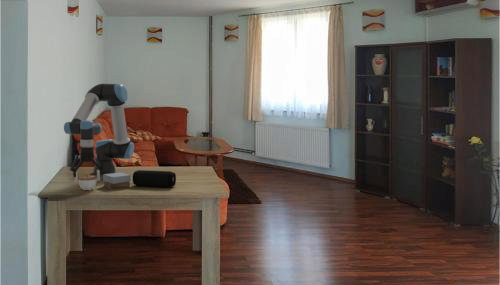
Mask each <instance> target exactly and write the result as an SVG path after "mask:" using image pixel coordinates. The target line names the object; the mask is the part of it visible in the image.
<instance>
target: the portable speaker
mask: <svg viewBox="0 0 500 285" xmlns="http://www.w3.org/2000/svg"><path fill="white" fill-rule="evenodd" d="M176 181H177V174H176V172H173V171H171V170H169V171H168V170H149V169H148V170H145V169H138V170H135V171H133V173H132V184H133V185H134V186H136V187H150V188H151V187H152V188H172V187H175V186H176Z"/></svg>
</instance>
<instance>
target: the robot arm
mask: <svg viewBox="0 0 500 285" xmlns="http://www.w3.org/2000/svg"><path fill="white" fill-rule="evenodd" d="M128 95H129V94H128V90H127V88H126V86H125V85H124V84H120V83H99V84H96V85H94V86H93V87H91V88H90V89H89V90H88V91H87V92H86V93H85V95H84V100H83V101H82V103H81V105H80V106H79V108H78V110H77V111H76V113H75V115H74V116H73V118H72V119H71V121H66V122H65V123H64V124H63V131H64V133H65V134H66V135H77V136H78V135H80V154H79V155H78V154H75V155H74V159H73V162H72V164H71V166H70V168H69V171H71V172H72V176H73V178H74V183H75V184H79V179H78V177H79V176H78V170H79V169H80V167H81V166H82V165H83V164H84V163H92V164H93V165H94V167H93V168H92V169H93V171H92V172H93V174H95V175H96V177H97V182H100V181H101V175H103V174H111V173H117V172H116V170H117V169H116V167H115V163H114V159H117V160H118V159H121V160H129V159H131V158H132V157H133V155H134V152H135V144H134V142H132V141H131V138H130V137H128V136H129V135H128V130H127V124H126V117H125V116H126V114H125V109H124V108H125V107H124V105H126V102H127V101H128ZM101 102H107V104H106V105H107V106H108V107H109V108H110V115H111V121H112V128H113V135H114V139H111V138H110V139H109V138H108V139H100V140H97V141H96V142H95V147H94V136H97V135H100V134H101V133H102V132H103V126H102V124H101V123H100V122H96V121H95V122H94V121H93V120H90V119H89V117H90V115H91V113H92V112H93V110H94V109H95V106H96V105H98V104H99V103H101ZM88 119H89V120H88ZM94 148H95V150H94ZM94 158H95V160H94ZM79 159H80V160H79ZM78 161H79V162H78Z"/></svg>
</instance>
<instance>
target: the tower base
mask: <svg viewBox="0 0 500 285" xmlns="http://www.w3.org/2000/svg"><path fill="white" fill-rule="evenodd" d="M104 186H105V187H104ZM103 187H104V188H107V189H109V190H111V189H112V190H120V189H130V188H131V181H130V182H123V183H116V184H112V183H109V182H105V181H103Z"/></svg>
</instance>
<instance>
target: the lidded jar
mask: <svg viewBox="0 0 500 285" xmlns="http://www.w3.org/2000/svg"><path fill="white" fill-rule="evenodd" d="M97 182H98V181H97V175H89V174H88V173H87V174H86V175H80V176H78V185H79V187H80V189H81V190H82V189H83V190H82V191H84V190H89V191H93V190H94V189H95V188H96V186H97ZM92 189H93V190H92Z"/></svg>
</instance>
